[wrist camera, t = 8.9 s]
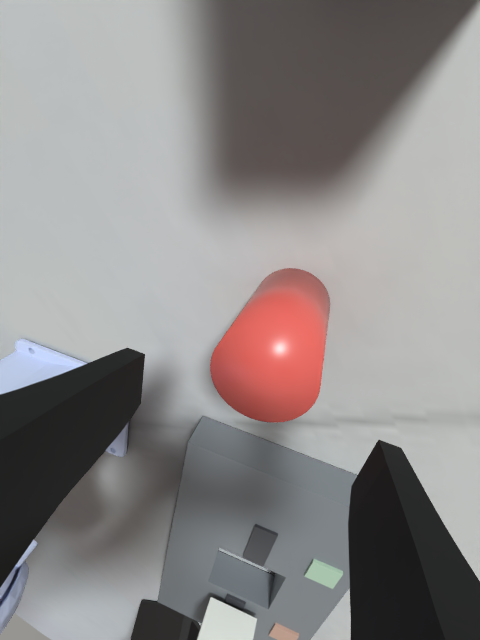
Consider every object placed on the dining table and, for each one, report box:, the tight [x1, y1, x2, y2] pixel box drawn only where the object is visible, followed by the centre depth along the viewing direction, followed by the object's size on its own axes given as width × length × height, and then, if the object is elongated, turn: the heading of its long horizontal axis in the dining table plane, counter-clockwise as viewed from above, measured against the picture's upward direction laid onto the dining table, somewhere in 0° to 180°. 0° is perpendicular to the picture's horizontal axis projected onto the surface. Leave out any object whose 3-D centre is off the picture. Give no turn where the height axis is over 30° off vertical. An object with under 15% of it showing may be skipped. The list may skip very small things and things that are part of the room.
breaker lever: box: [197, 597, 257, 640], centre depth 26 cm, size 4×3×3 cm
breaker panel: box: [157, 416, 358, 640], centre depth 26 cm, size 13×22×3 cm, turn 167°
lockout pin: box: [210, 268, 330, 422], centre depth 15 cm, size 4×4×7 cm
